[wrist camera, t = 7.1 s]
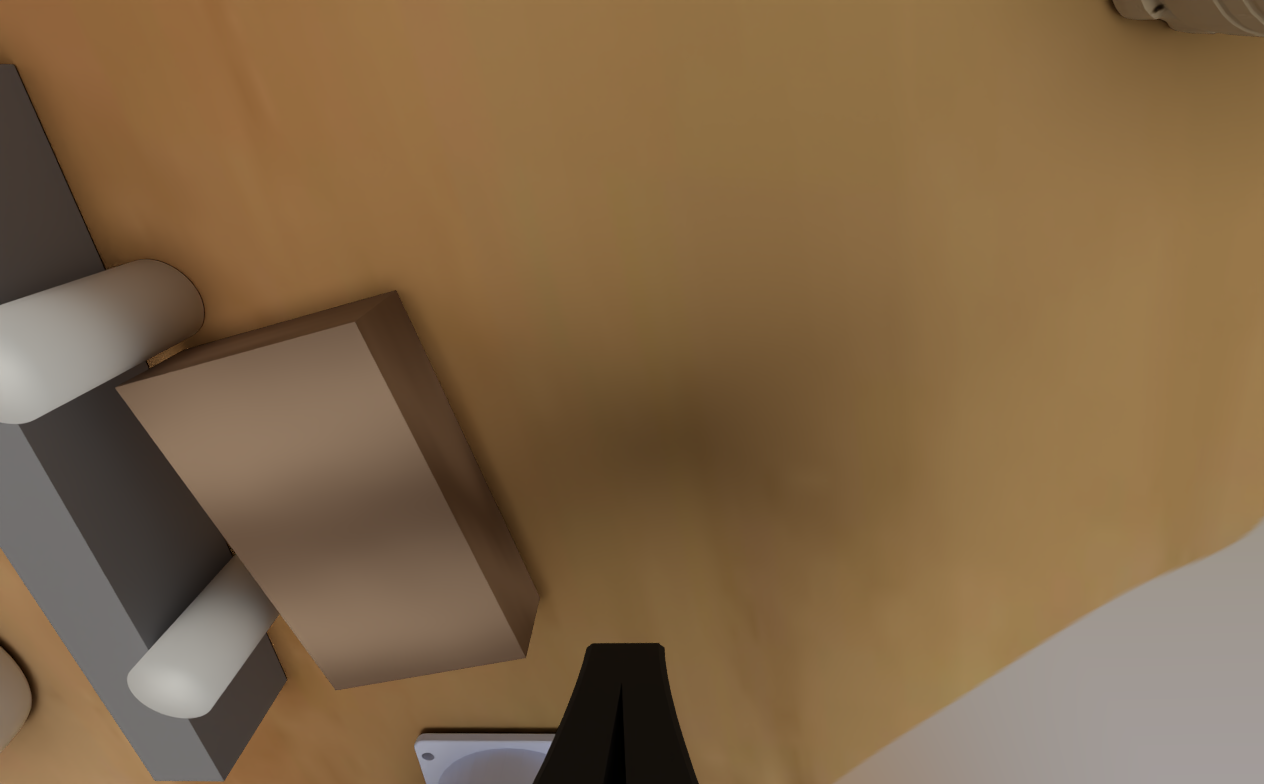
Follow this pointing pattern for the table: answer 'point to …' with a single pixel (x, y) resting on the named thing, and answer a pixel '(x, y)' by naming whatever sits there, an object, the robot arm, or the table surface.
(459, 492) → the brown rectangular block
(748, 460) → the table surface
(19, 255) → the bench dog bar
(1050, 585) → the table surface
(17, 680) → the fruit juice
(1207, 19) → the handle
